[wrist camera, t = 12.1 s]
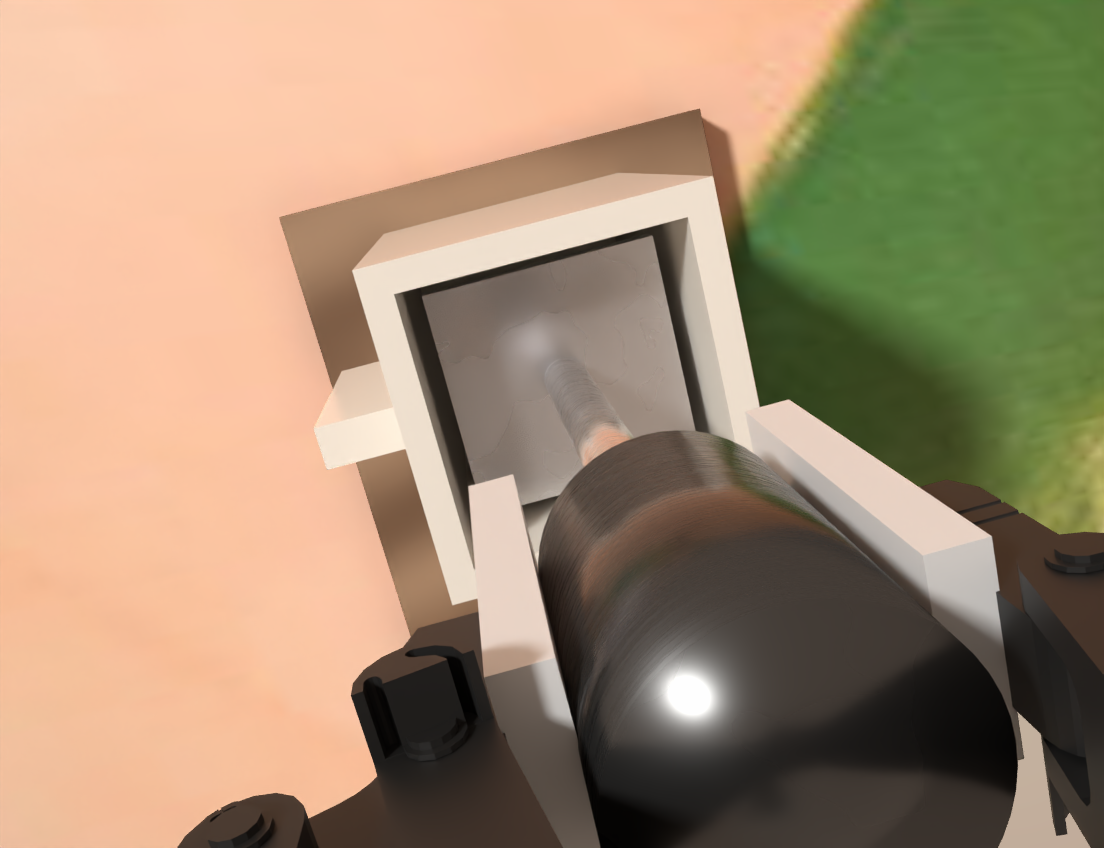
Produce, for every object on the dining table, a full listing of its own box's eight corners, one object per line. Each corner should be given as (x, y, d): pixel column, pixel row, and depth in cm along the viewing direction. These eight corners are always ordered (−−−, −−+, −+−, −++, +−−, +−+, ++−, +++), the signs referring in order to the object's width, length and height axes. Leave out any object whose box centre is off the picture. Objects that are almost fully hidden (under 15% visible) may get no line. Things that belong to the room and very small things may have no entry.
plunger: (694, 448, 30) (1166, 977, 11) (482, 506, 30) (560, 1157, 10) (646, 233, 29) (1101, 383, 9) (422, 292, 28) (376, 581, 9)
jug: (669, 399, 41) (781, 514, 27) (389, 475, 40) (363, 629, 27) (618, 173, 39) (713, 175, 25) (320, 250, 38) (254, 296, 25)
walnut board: (806, 677, 46) (818, 693, 45) (460, 774, 46) (460, 794, 44) (690, 110, 40) (699, 108, 38) (285, 215, 39) (279, 217, 38)
